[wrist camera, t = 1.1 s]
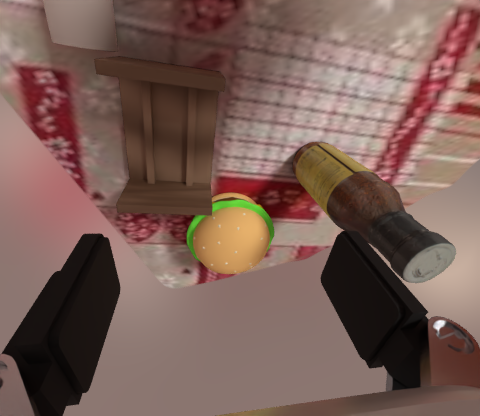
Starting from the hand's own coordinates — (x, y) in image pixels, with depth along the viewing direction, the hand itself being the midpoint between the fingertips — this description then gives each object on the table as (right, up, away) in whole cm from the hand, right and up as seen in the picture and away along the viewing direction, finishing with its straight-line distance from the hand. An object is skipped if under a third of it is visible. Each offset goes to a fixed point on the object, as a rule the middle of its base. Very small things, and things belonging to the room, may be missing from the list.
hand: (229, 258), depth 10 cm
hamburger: (-1, +1, +27) cm, 27 cm away
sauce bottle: (+11, +9, +24) cm, 27 cm away
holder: (-8, +11, +19) cm, 23 cm away
